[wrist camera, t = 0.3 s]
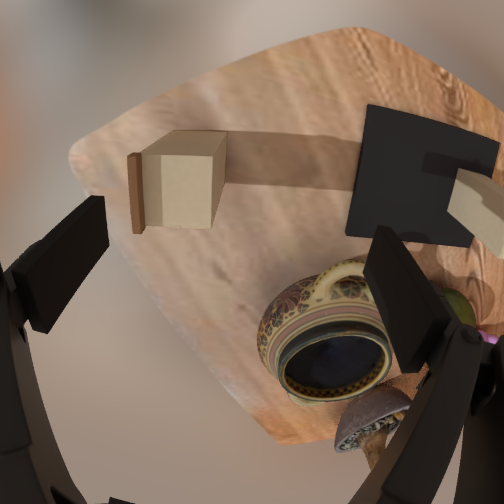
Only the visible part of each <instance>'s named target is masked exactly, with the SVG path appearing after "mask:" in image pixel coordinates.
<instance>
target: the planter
mask: <svg viewBox="0 0 504 504" xmlns="http://www.w3.org/2000/svg"><path fill="white" fill-rule="evenodd" d="M411 403H412V400H411V399H410V397H409V396H407V395H406V394H405V393H404V392H402V391H401V390H399V389H397V388H394V387H387V388H386V387H385V386H383V385H380V386H377V387H375V388H372V389H370V390H369V391H367V392H365V393H363V394H361V395H359V396H358V397H357V398H355V399H354V400H353V401H352V402H351V404H350V405H349V406H348V408H347V410H346V411H345V412H344V413H343V414H342V416H341V419H340V422H339V425H338V428H337V432H336V437H335V451H336V452H339V453H342V452H347V451H352V450H355V449H359V448H361V449H362V450H363V452H364V453H365V456H366V458H367V460H368V464H369V467H370V469H371V471H372V469H373V468H374V466H375V465H376V463H377V462H378V460H379V459H380V457H381V455H382V454H383V452H384V451H385V444H386V439H387V435H389V434H391V433H392V432H394V431H395V430H396V429H397V428H398V427H399V425H400V423H401V422H402V420H403V418H404V416H405V414H406V412H407V410H408V409H409V407H410V405H411Z"/></svg>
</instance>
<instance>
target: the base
mask: <svg viewBox="0 0 504 504" xmlns="http://www.w3.org/2000/svg"><path fill="white" fill-rule="evenodd" d="M498 148H499V142H497V141H494V140H491V139H489V138H486V137H483V136H481V135H478V134H475V133H472V132H469V131H466V130H463V129H460V128H457V127H454V126H451V125H448V124H445V123H441V122H438V121H435V120H431V119H428V118H424V117H420V116H417V115H413V114H409V113H405V112H401V111H397V110H393V109H388V108H384V107H379V106H375V105H370V104H368V105H367V112H366V119H365V126H364V133H363V139H362V145H361V151H360V157H359V163H358V169H357V174H356V180H355V185H354V190H353V195H352V201H351V206H350V210H349V215H348V220H347V225H346V229H345V234H346V236H353V237H365V238H373V237H374V234H375V231H376V227H377V225H382V226H389V227H392V229H393V230H394V231H395V233H396V234H397V236H398V237H399V238H400V240H401V241H407V242H417V243H427V244H437V245H446V246H456V247H465V248H469V247H470V245H471V242H472V239H473V236H475V237H476V238H478V239H479V240H480V241H481V242H482V243H483V244H484V245H485V246H486V247H487V248H488V249H489V250H490V251H491V252H492V253H493V254H494V255H495V256H496V257H497V258H498V259H504V187H503V186H502V185H500V184H498V183H497V182H495V181H494V180H492V179H491V178H492V174H493V170H494V166H495V162H496V157H497V153H498Z"/></svg>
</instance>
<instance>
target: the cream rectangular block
mask: <svg viewBox="0 0 504 504" xmlns="http://www.w3.org/2000/svg"><path fill="white" fill-rule="evenodd" d="M226 145H227V132H219V131H185V130H173V131H172V132H170V133H169V134H167V135H165V136H164V137H162V138H161V139H159V140H158V141H156V142H155V143H153V144H152V145H150V146H149V147H147V148H146V149H144V150H143V151H141V152H140V153H131V154H130V155H128V156H127V167H128V184H129V197H130V210H131V220H132V230H133V234H142V232H143V231H144V229H145V228H146V227H145V226H162V227H179V228H195V229H211V228H212V225H213V221H214V218H215V214H216V211H217V207H218V204H219V200H220V197H221V194H222V190H223V187H224V183H225V164H226Z"/></svg>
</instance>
